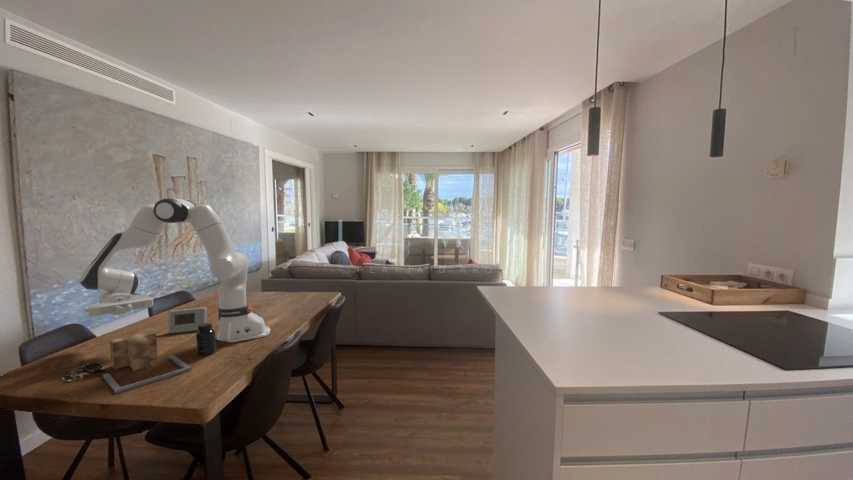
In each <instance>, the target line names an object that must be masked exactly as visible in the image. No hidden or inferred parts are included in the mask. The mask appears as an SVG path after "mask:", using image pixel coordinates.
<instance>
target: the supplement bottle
mask: <svg viewBox="0 0 853 480" xmlns="http://www.w3.org/2000/svg"><path fill="white" fill-rule="evenodd" d="M216 341H217V337H216V330H214V329H213V324H212V322H207V323H203V324H200V325H198V331H196V334H195V346H196V355H197V356H200V357H203V356H210V355H212V354H215V353H216V351H217V342H216Z"/></svg>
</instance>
